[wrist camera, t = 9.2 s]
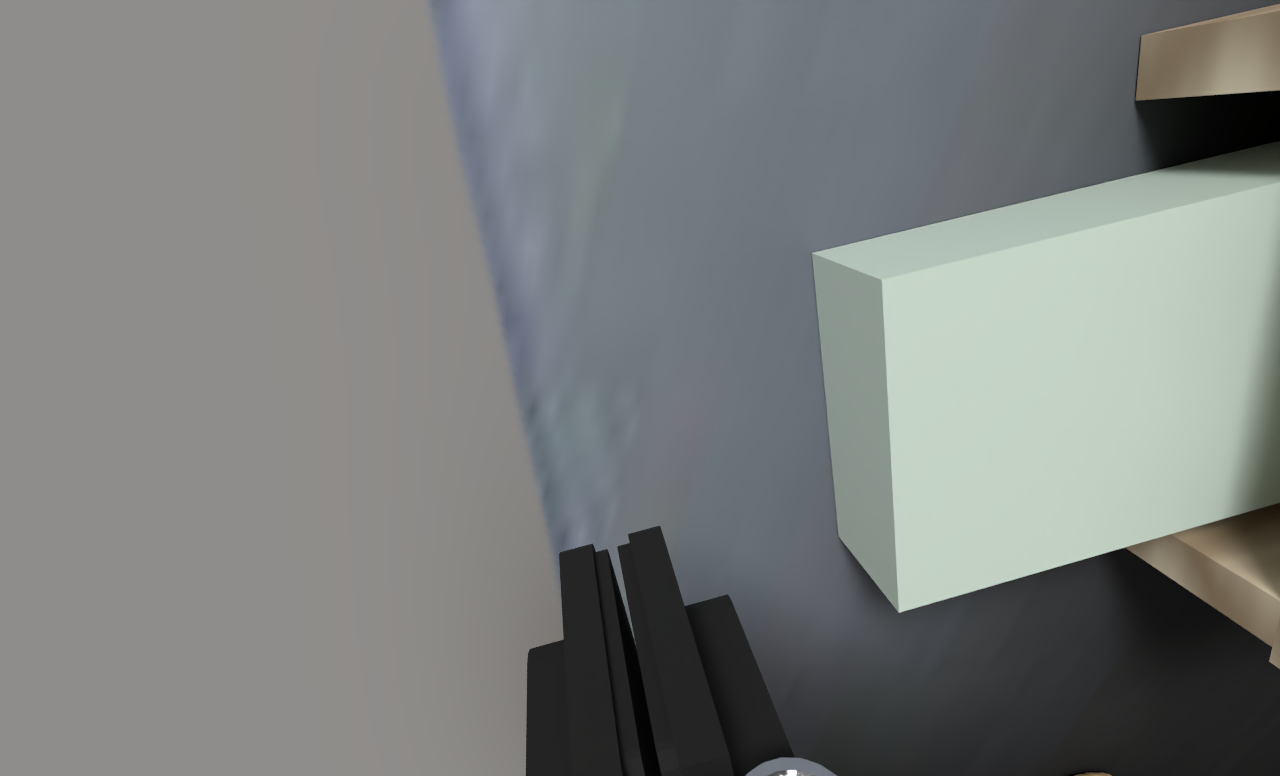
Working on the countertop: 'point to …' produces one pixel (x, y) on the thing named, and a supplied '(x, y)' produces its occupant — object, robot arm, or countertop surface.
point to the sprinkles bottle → (1093, 774)
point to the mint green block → (1055, 376)
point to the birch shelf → (1273, 535)
